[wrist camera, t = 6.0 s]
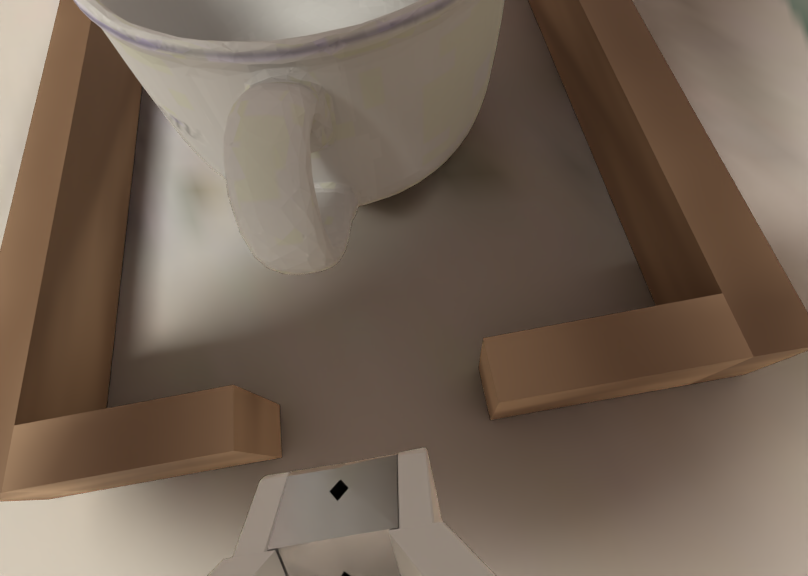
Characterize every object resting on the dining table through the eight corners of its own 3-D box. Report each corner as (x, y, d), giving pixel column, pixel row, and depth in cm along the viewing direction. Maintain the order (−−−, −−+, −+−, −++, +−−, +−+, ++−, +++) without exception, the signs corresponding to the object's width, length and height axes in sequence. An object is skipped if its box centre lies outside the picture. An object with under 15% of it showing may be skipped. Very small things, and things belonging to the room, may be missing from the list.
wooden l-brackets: (48, 499, 13) (-61, 504, 10) (117, 36, 21) (67, -30, 19) (744, 374, 12) (825, 344, 10) (539, -58, 20) (551, -141, 18)
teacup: (262, 29, 20) (152, -225, 13) (508, 31, 19) (540, -262, 11) (150, 321, 15) (-139, 171, 8) (477, 361, 13) (499, 216, 6)
